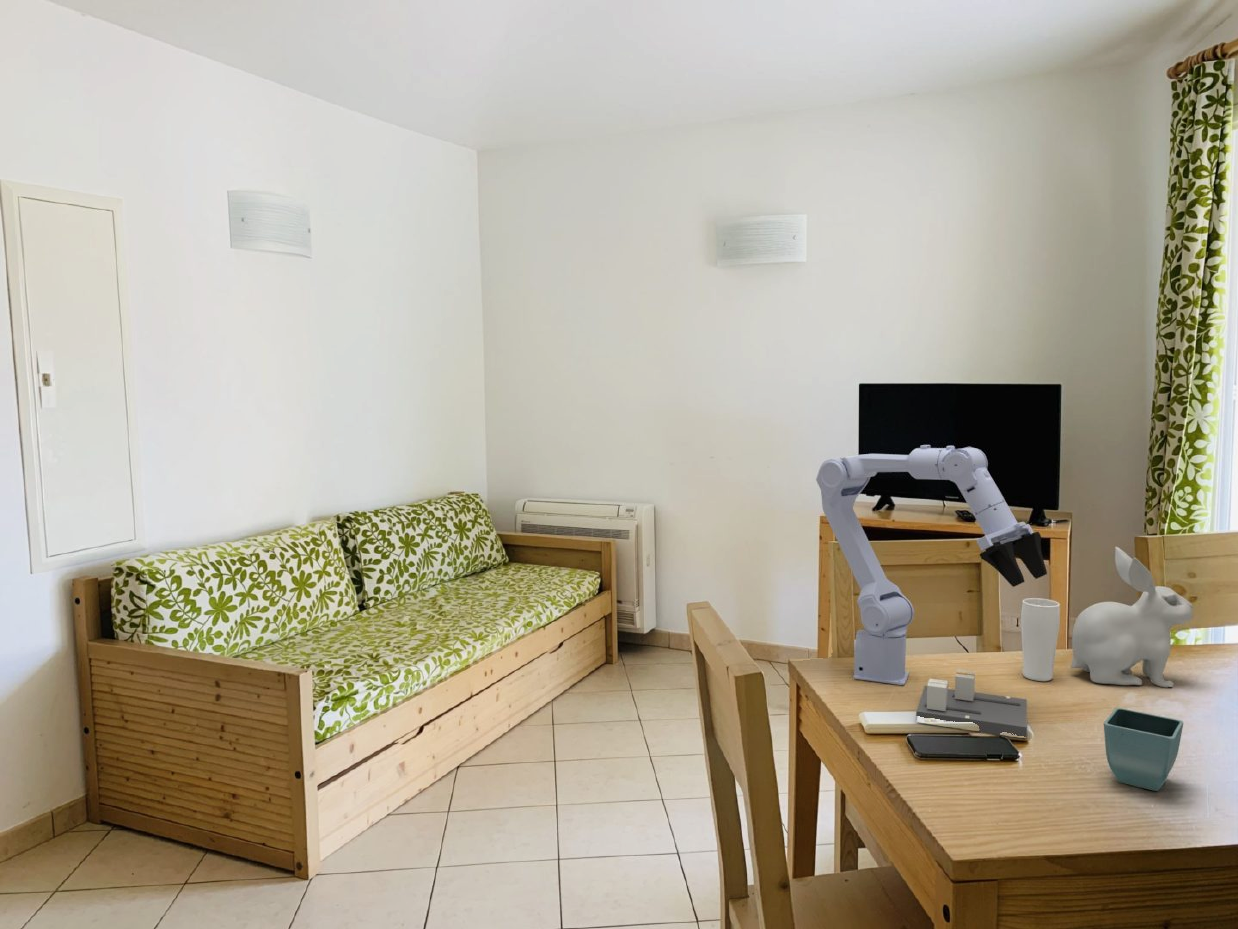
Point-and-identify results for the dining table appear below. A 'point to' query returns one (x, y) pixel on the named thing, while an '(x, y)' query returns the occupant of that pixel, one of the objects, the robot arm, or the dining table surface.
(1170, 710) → the dining table surface
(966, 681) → the far fader knob
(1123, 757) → the flower pot
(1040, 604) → the drinking glass
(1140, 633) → the rabbit
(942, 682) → the near fader knob
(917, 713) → the panel
